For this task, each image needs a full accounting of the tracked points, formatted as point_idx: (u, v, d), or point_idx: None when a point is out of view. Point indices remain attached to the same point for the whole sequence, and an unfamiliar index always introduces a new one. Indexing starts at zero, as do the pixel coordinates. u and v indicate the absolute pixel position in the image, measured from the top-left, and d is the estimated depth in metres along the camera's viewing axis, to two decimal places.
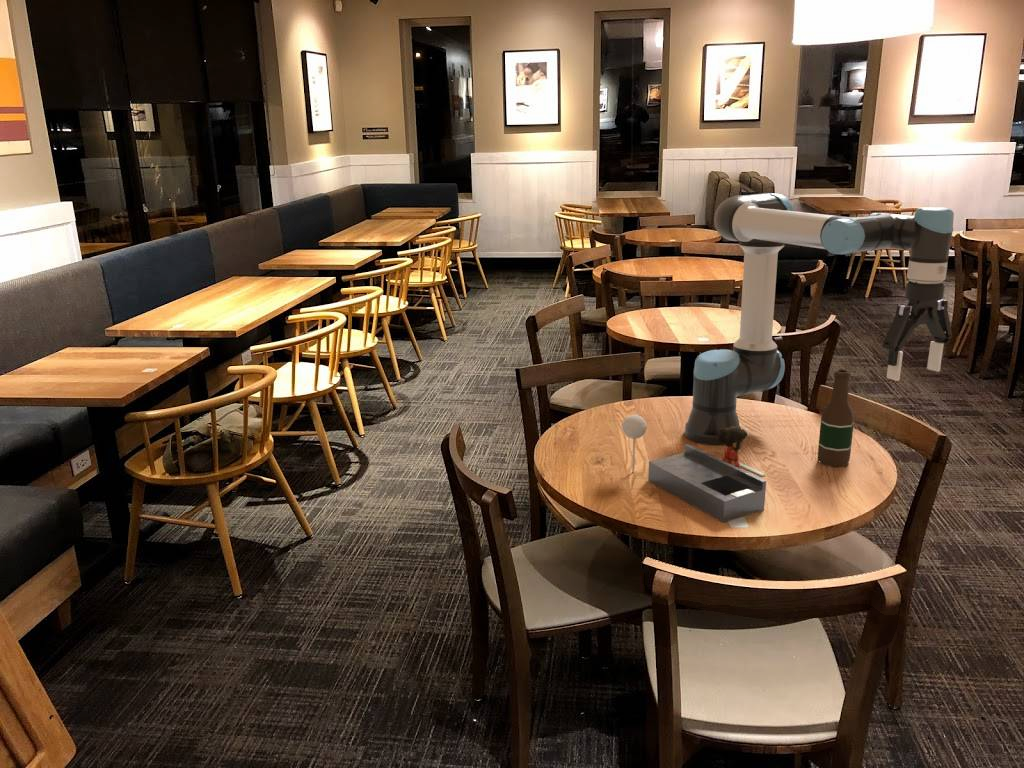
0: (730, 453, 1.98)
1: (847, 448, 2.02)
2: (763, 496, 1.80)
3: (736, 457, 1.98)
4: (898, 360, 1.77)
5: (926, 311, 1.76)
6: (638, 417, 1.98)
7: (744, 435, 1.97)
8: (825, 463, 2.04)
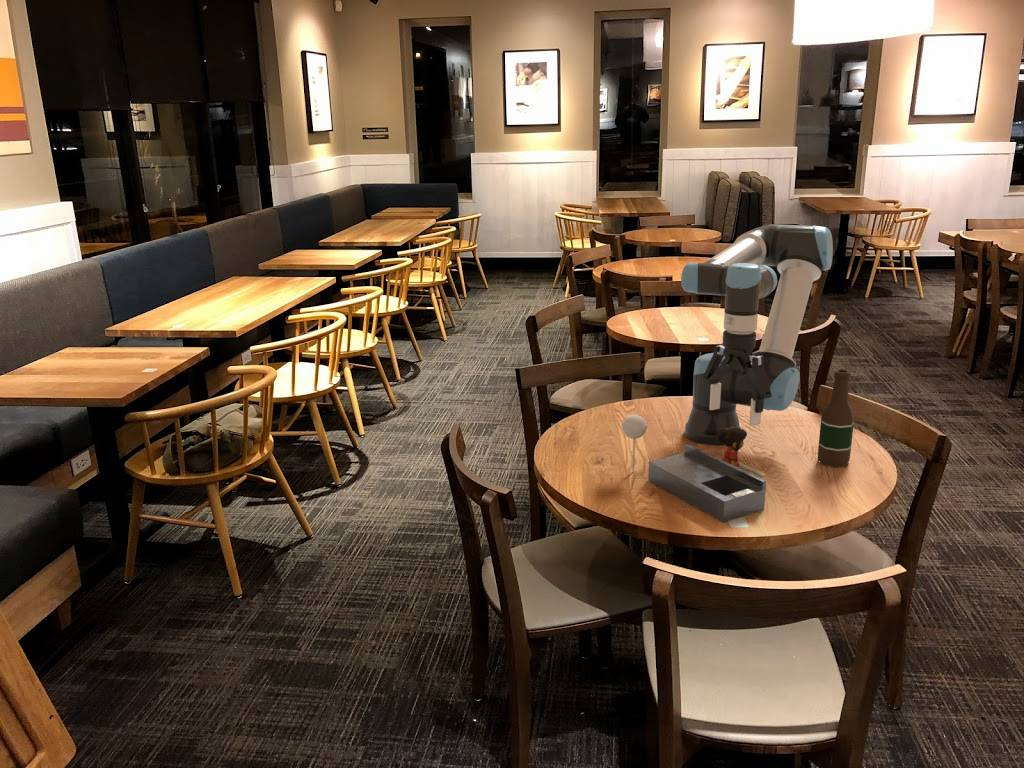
0: (730, 453, 1.98)
1: (847, 448, 2.02)
2: (763, 496, 1.80)
3: (736, 457, 1.98)
4: None
5: (728, 356, 1.92)
6: (638, 417, 1.98)
7: (744, 435, 1.97)
8: (825, 463, 2.04)
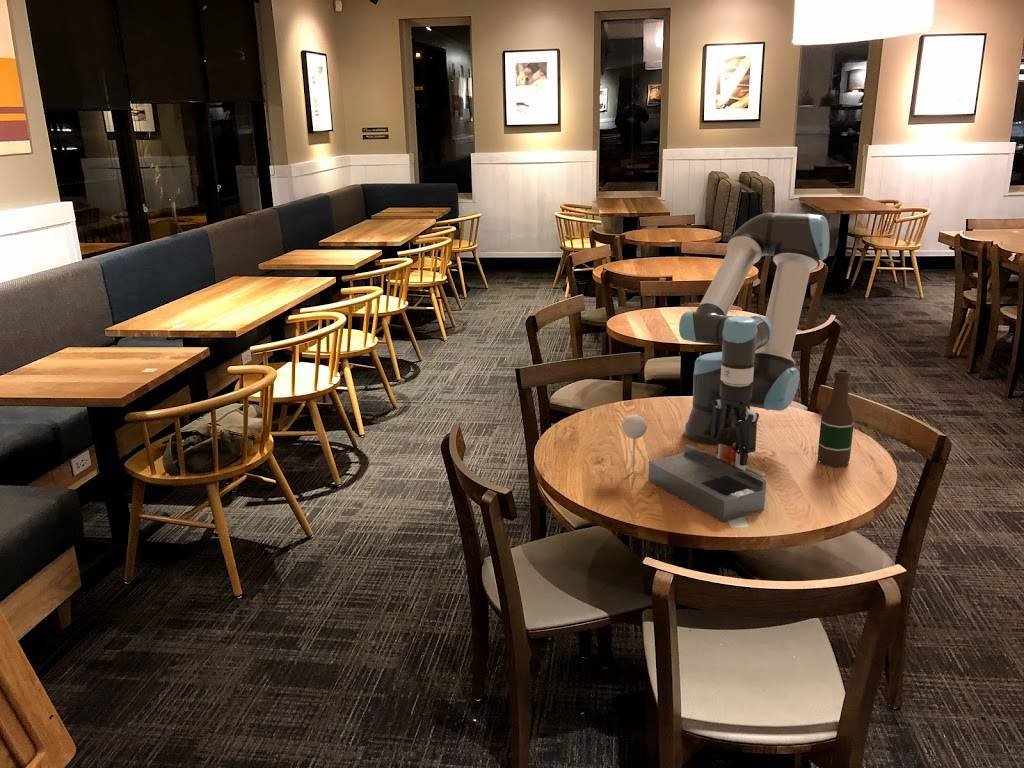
0: (730, 453, 1.98)
1: (847, 448, 2.02)
2: (763, 496, 1.80)
3: None
4: None
5: (725, 407, 1.96)
6: (638, 417, 1.98)
7: None
8: (825, 463, 2.04)
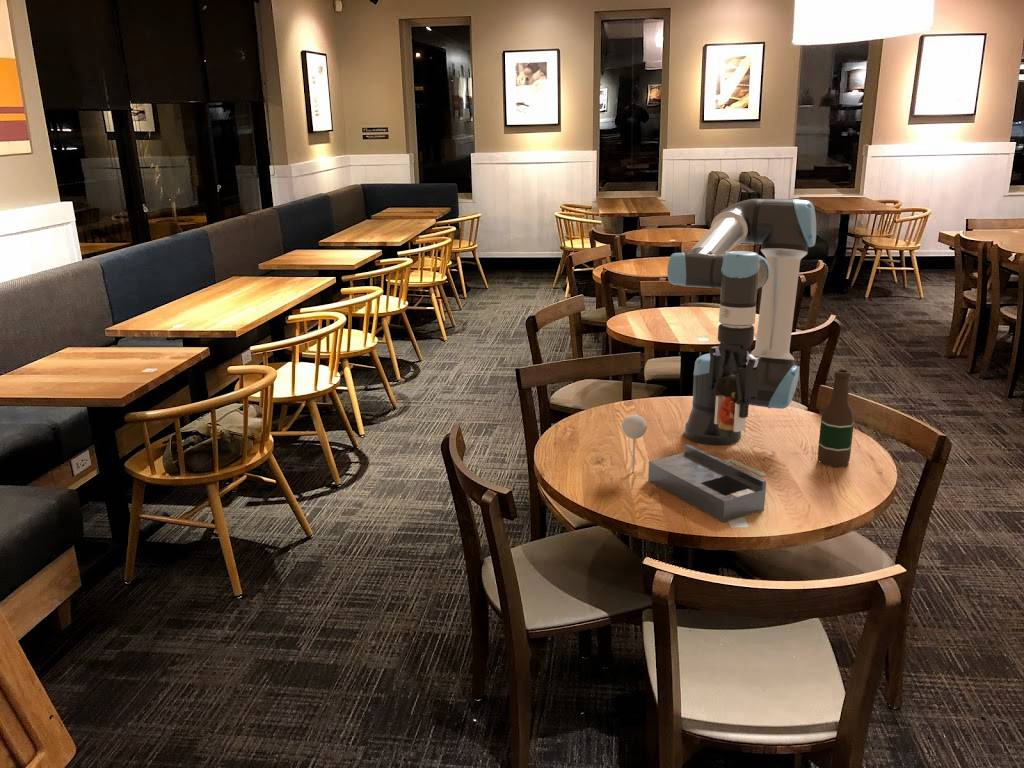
0: (728, 405, 1.79)
1: (847, 448, 2.02)
2: (763, 496, 1.80)
3: None
4: None
5: (723, 352, 1.77)
6: (638, 417, 1.98)
7: None
8: (825, 463, 2.04)
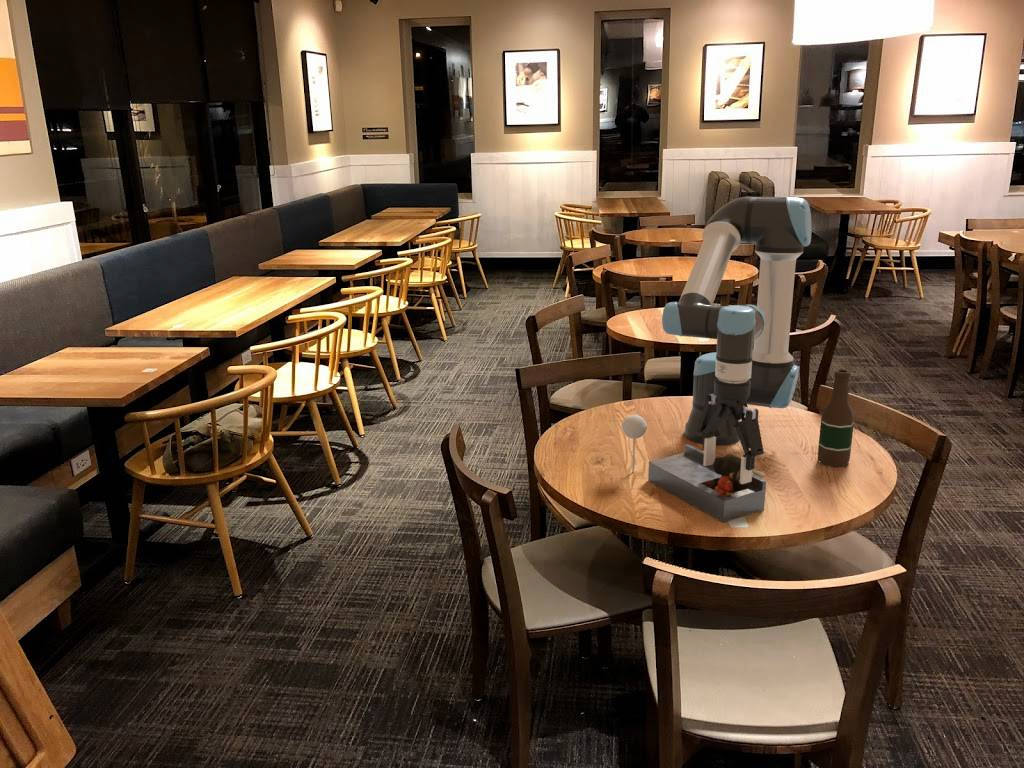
0: (725, 484, 1.81)
1: (847, 448, 2.02)
2: (763, 496, 1.80)
3: (731, 488, 1.81)
4: None
5: (720, 406, 1.77)
6: (638, 417, 1.98)
7: None
8: (825, 463, 2.04)
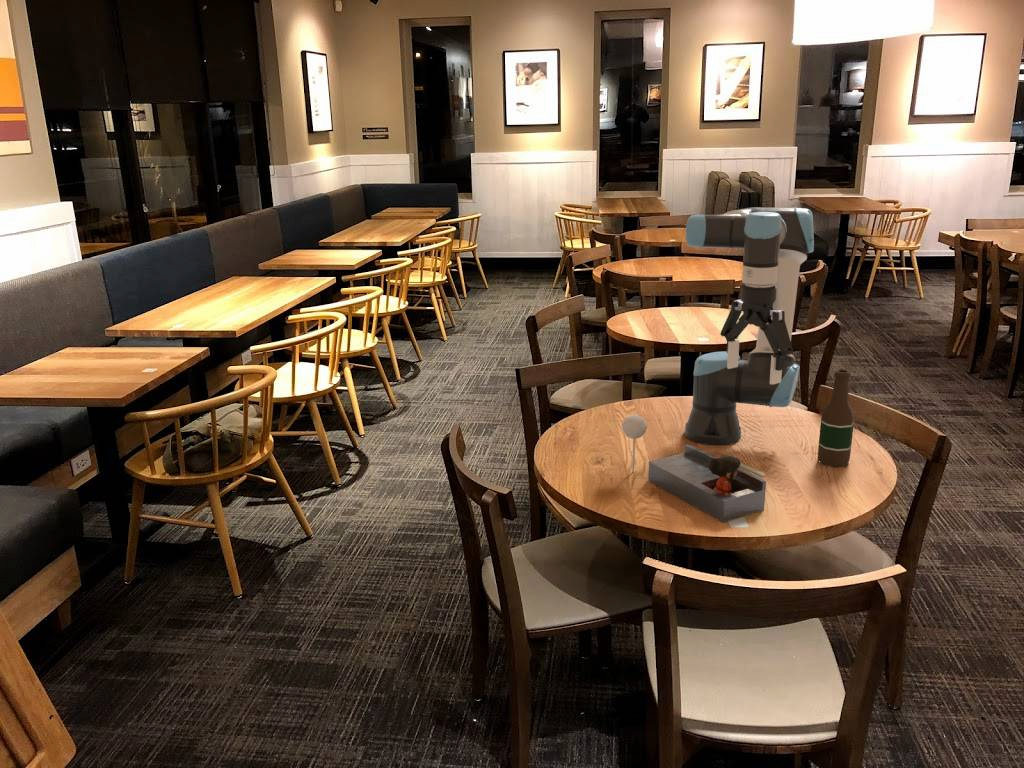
0: (723, 485, 1.81)
1: (847, 448, 2.02)
2: (763, 496, 1.80)
3: (730, 488, 1.81)
4: None
5: (746, 311, 1.82)
6: (638, 417, 1.98)
7: (738, 464, 1.80)
8: (825, 463, 2.04)
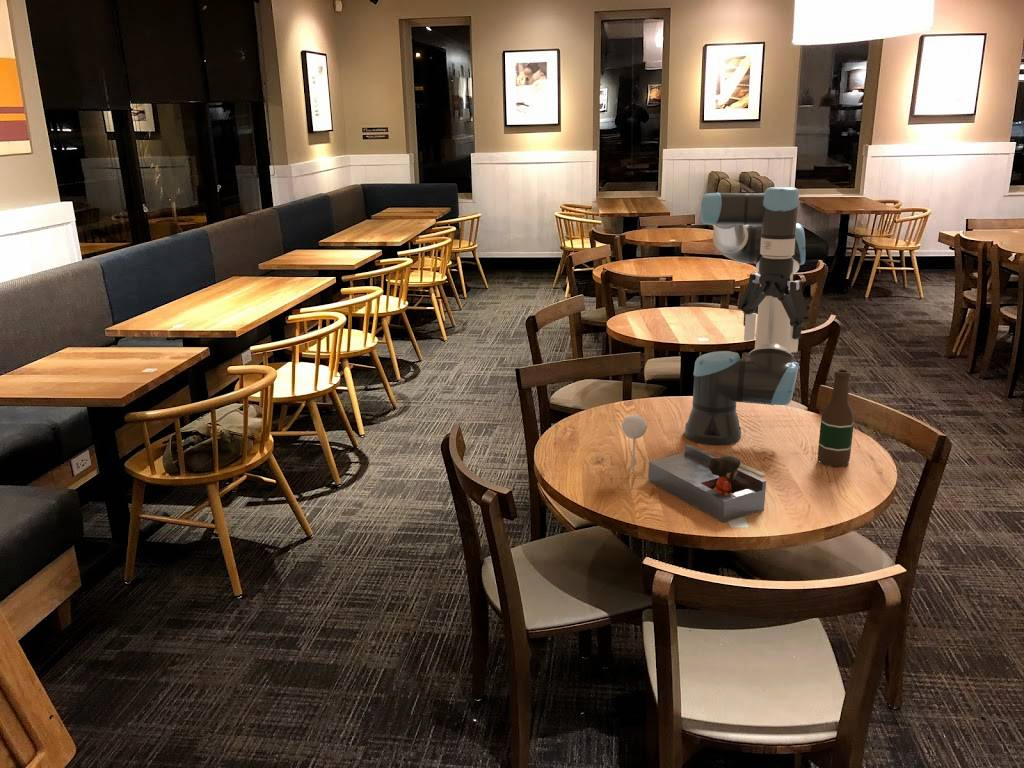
0: (723, 485, 1.81)
1: (847, 448, 2.02)
2: (763, 496, 1.80)
3: (730, 488, 1.81)
4: None
5: (764, 283, 1.89)
6: (638, 417, 1.98)
7: (738, 464, 1.80)
8: (825, 463, 2.04)
